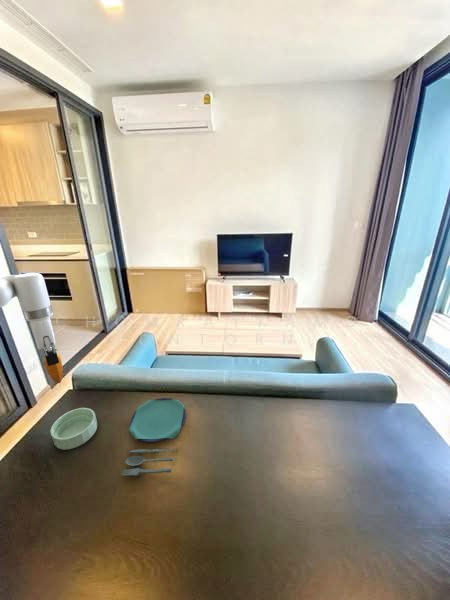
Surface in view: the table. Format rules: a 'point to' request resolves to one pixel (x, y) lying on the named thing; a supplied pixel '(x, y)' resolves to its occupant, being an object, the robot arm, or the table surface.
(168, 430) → the cutlery set
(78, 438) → the bowl
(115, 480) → the table surface
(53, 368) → the carrot
